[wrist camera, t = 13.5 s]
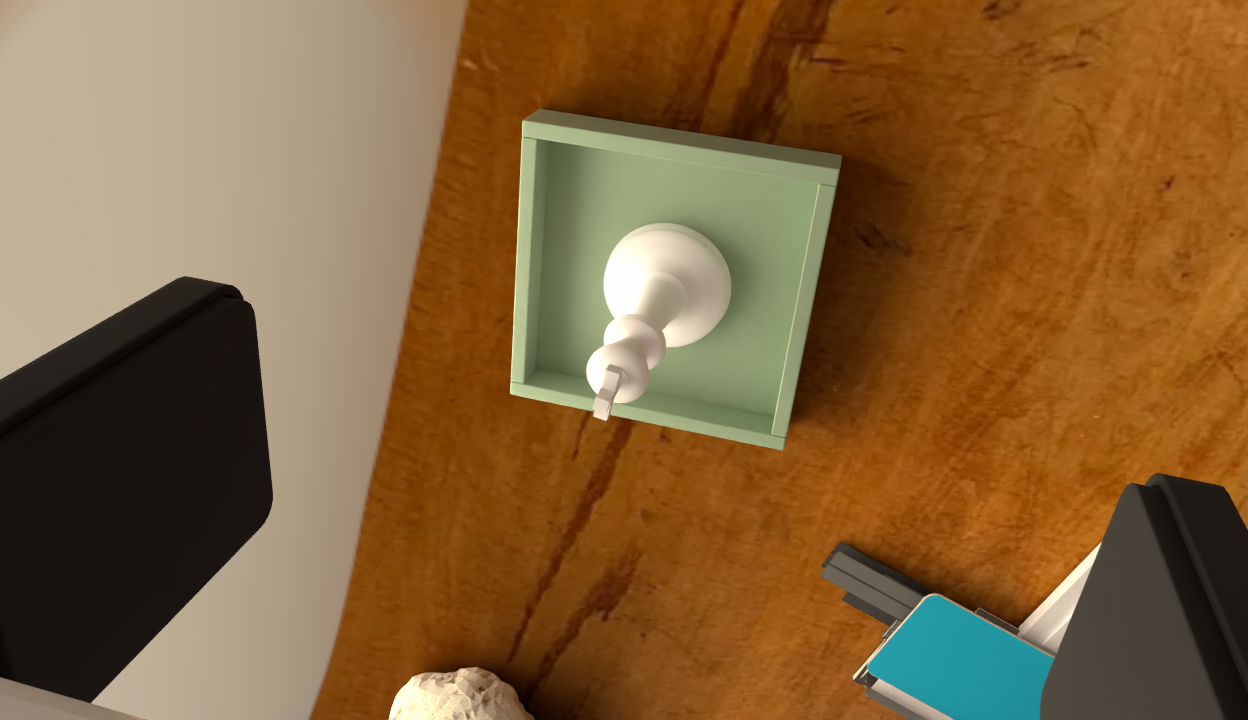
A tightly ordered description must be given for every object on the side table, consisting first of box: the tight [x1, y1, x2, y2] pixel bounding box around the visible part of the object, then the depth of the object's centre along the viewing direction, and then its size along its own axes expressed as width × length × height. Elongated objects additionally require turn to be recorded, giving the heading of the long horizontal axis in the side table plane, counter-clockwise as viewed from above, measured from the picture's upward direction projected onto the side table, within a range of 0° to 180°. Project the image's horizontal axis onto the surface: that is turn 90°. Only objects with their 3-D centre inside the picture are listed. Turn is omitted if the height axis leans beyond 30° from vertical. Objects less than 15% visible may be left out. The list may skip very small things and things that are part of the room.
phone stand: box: [819, 542, 1102, 720], centre depth 40 cm, size 20×12×2 cm, turn 65°
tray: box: [510, 109, 842, 450], centre depth 37 cm, size 11×11×2 cm
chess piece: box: [587, 223, 731, 421], centre depth 33 cm, size 5×5×10 cm
